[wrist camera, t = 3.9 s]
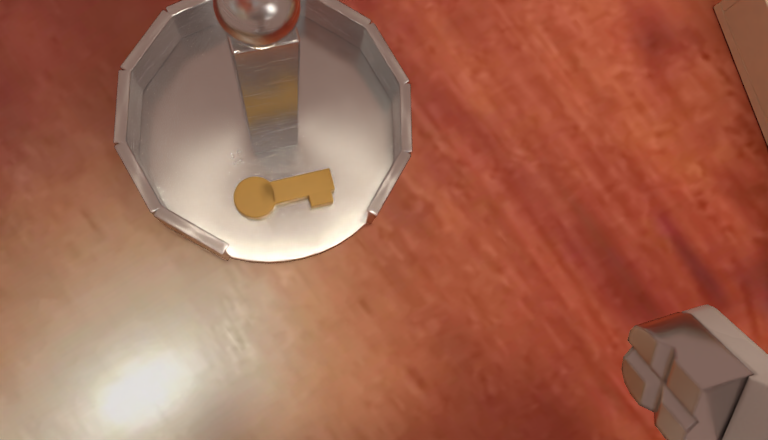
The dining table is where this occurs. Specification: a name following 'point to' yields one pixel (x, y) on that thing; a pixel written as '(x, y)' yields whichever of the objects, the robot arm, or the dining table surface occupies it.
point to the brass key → (282, 192)
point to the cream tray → (749, 49)
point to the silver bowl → (262, 121)
